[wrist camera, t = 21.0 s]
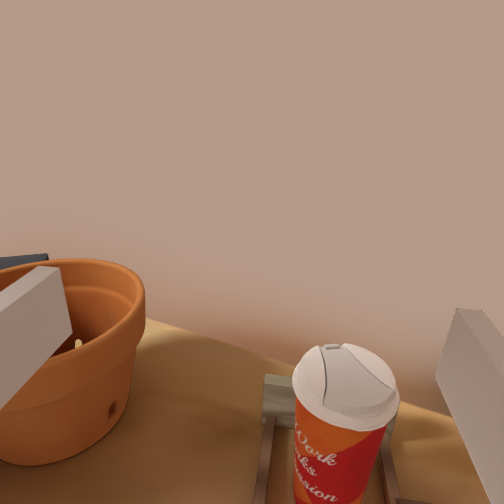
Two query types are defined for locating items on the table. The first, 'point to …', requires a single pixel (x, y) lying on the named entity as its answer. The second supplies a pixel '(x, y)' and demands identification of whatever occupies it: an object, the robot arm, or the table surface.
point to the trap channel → (283, 415)
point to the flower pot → (77, 365)
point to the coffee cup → (339, 421)
